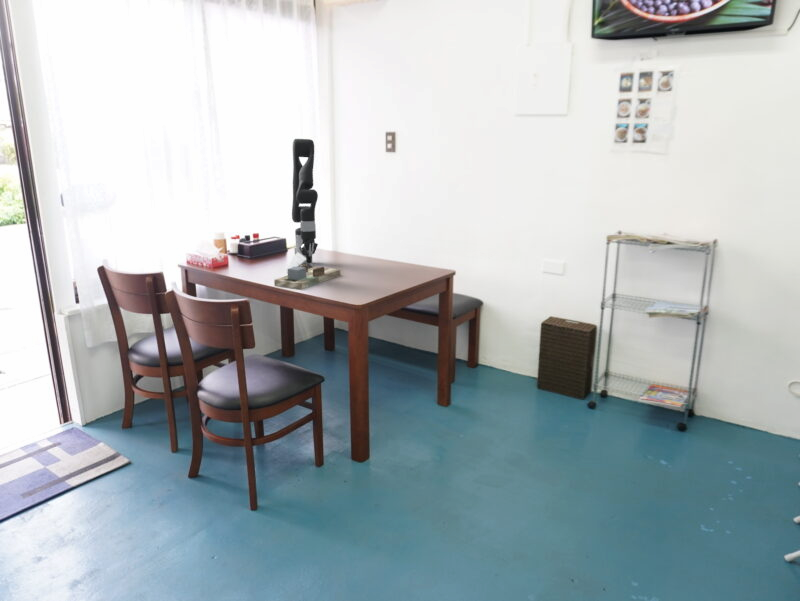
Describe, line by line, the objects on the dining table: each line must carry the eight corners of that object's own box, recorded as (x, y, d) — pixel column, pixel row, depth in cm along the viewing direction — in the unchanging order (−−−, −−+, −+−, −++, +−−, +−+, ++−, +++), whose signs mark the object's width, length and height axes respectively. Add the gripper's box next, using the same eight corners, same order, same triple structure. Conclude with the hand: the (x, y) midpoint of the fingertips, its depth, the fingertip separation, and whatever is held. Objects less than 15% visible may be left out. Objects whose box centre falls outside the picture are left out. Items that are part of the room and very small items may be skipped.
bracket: (298, 251, 324) (307, 258, 307) (309, 264, 329) (318, 271, 311) (280, 266, 322) (288, 274, 305) (291, 279, 327) (300, 287, 309)
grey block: (287, 278, 282) (287, 268, 280) (296, 276, 288) (296, 266, 286) (297, 280, 279) (297, 270, 278) (306, 277, 285) (305, 267, 284)
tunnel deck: (274, 285, 281) (273, 272, 279) (316, 271, 311) (315, 260, 309) (300, 289, 274) (300, 276, 272) (340, 275, 304) (340, 263, 302)
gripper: (309, 227, 293) (310, 259, 298) (293, 230, 282) (295, 264, 287) (321, 228, 290) (322, 261, 295) (306, 232, 279) (307, 266, 284)
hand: (309, 263), depth 291 cm, fingers closed
